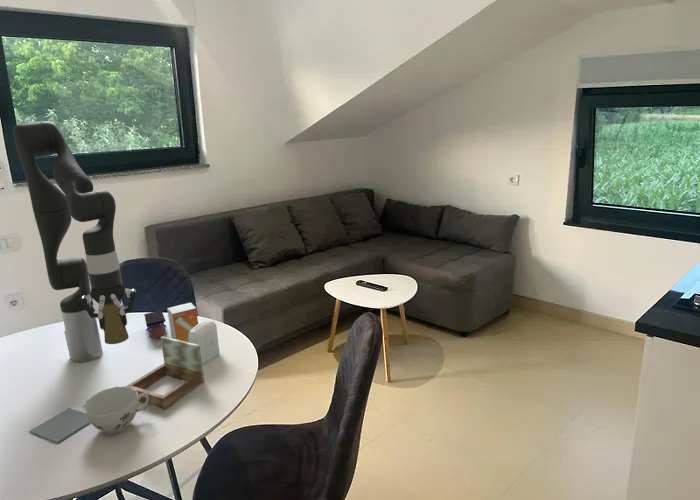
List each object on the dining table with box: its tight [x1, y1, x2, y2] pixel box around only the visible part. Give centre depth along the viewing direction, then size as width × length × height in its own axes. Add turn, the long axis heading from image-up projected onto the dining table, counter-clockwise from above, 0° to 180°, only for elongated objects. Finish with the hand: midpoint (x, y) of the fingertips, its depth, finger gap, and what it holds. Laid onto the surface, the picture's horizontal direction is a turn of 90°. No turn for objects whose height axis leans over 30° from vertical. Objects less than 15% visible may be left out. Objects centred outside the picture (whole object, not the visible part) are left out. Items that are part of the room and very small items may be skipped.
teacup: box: [82, 386, 149, 435], centre depth 131 cm, size 15×12×8 cm
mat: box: [29, 407, 91, 444], centre depth 133 cm, size 11×11×1 cm
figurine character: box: [143, 309, 167, 340], centre depth 183 cm, size 7×8×15 cm
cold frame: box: [125, 336, 205, 411], centre depth 146 cm, size 14×15×12 cm
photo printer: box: [188, 320, 220, 366], centre depth 162 cm, size 10×4×12 cm, turn 155°
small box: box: [167, 302, 199, 342], centre depth 174 cm, size 8×6×13 cm
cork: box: [101, 303, 130, 345], centre depth 138 cm, size 6×6×11 cm
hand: (114, 328), depth 139 cm, fingers closed on cork, 4 cm apart
